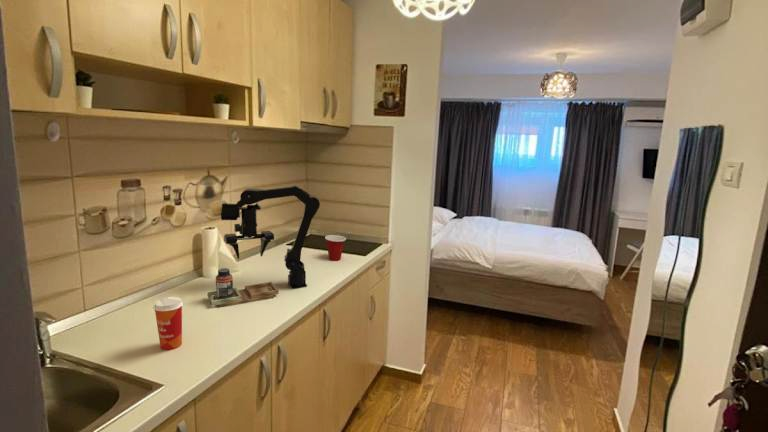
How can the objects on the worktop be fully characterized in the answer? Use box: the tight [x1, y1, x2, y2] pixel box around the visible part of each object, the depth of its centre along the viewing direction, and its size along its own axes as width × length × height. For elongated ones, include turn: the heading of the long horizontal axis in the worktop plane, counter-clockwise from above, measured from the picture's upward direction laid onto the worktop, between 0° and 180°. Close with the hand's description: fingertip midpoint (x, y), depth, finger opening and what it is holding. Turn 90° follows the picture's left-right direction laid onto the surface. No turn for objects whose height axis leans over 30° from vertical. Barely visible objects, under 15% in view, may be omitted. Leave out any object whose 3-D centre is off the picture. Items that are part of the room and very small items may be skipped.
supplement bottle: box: [215, 267, 234, 300], centre depth 153 cm, size 6×6×11 cm
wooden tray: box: [206, 281, 279, 308], centre depth 157 cm, size 25×12×2 cm, turn 121°
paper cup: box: [152, 296, 184, 351], centre depth 119 cm, size 8×8×14 cm
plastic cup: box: [324, 234, 347, 262], centre depth 209 cm, size 11×11×12 cm
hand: (249, 257), depth 165 cm, fingers open, 9 cm apart
